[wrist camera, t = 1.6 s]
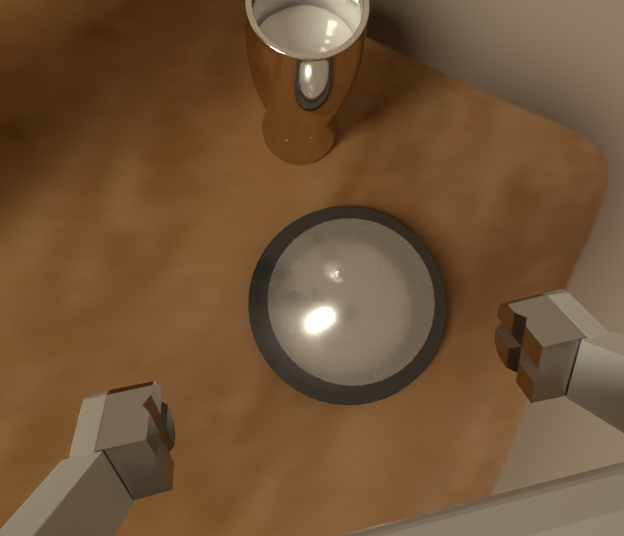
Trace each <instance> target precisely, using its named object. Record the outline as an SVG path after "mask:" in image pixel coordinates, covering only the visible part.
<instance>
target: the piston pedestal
mask: <svg viewBox="0 0 624 536" xmlns="http://www.w3.org/2000/svg"><path fill="white" fill-rule="evenodd" d="M249 317H250V324H251V328H252V332H253V335H254V338H255V341H256V343H257V345H258V348H259V350H260V352H261V353H262V355H263V357H264V358H265V360H266V362H267V363H268V364H269V365H270V367H271V368H272V369H273V370H274V372H275V373H276V374H277V375H278V376H279V377H280V378H281V379H282V380H284V381H285V382H286V383H287V384H289V385H290V386H291V387H293V388H294V389H296V390H297V391H299V392H301V393H303V394H305V395H306V396H309V397H312V398H314V399H317V400H319V401H323V402H327V403H332V404H340V405H360V404H366V403H371V402H375V401H378V400H381V399H384V398H387V397H389V396H391V395H393V394H395V393H397V392H399V391H400V390H402V389H403V388H405V387H406V386H408V385H409V384H410V383H411V382H412V381H414V380H415V379H416V378H417V377H418V376H419V375H420V374H421V373H422V371H423V370H424V369H425V368H426V367H427V365H428V364H429V362H430V361H431V359H432V358H433V356H434V354H435V352H436V350H437V348H438V346H439V344H440V341H441V337H442V334H443V331H444V325H445V320H446V296H445V290H444V285H443V280H442V278H441V275H440V272H439V269H438V267H437V265H436V263H435V261H434V259H433V257H432V255H431V254H430V252H429V251H428V249H427V248H426V246H425V245H424V244H423V243H422V242H421V241H420V239H419V238H418V237H417V236H416V235H415V234H413V233H412V232H411V231H410V230H409V229H408V228H406V227H405V226H404V225H402V224H401V223H399V222H398V221H396V220H394V219H392V218H390V217H389V216H386V215H384V214H381V213H379V212H376V211H372V210H368V209H364V208H357V207H334V208H327V209H323V210H319V211H316V212H313V213H310V214H308V215H305V216H303V217H301V218H299V219H298V220H296V221H294V222H292V223H291V224H290V225H288V226H287V227H286V228H284V229H283V230H282V231H281V232H280V233H279V234H278V235H277V236H276V237H275V238H274V239H273V240H272V241H271V242H270V244H269V245H268V246H267V248H266V249H265V250H264V252H263V254H262V255H261V257H260V259H259V261H258V263H257V266H256V268H255V270H254V273H253V277H252V280H251V284H250V291H249Z"/></svg>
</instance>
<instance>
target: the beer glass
mask: <svg viewBox="0 0 624 536" xmlns="http://www.w3.org/2000/svg"><path fill="white" fill-rule="evenodd" d="M245 8H246V45H247V56H248V62H249V67H250V72H251V76H252V79H253V82H254V85H255V88H256V90H257V93H258V95H259V97H260V99H261V101H262V104H263V106H264V108H265V110H266V112H265V115H264V119H263V126H262V130H263V136H264V140H265V142H266V144H267V146H268V147H269V149H270V150H271V151H272V152H273V153H274V154H275V155H276V156H277V157H278V158H280V159H282V160H284V161H286V162H289V163H293V164H308V163H312V162H315V161H317V160H319V159H321V158H322V157H323V156H325V155H326V154H327V153H328V152H329V151H330V149H331V148H332V146H333V144H334V142H335V139H336V135H337V121H336V115H337V113H338V111H339V110H340V108H341V107H342V105H343V103H344V102H345V100H346V99H347V97H348V95H349V93H350V91H351V89H352V87H353V85H354V83H355V80H356V77H357V74H358V71H359V68H360V64H361V60H362V55H363V50H364V43H365V36H366V27H367V20H368V17H369V0H245Z"/></svg>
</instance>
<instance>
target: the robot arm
mask: <svg viewBox="0 0 624 536" xmlns="http://www.w3.org/2000/svg"><path fill="white" fill-rule="evenodd" d="M498 318H499V319H500V320H501V322H502V323H501V324H500V325H499V327H498V328H497V329H496V332H495V344H496V349H497V352H498V355H499V357H500V359H501V361H502V362H503V364H504V365H505V367H506V368H508V369H510V370H512V371H514V372H516V373H517V378H516V382H517V384H518V385H519V387H520V388H521V389H522V391H523V392H524V394H525V395H526V396H527V398H528V399H529V401H530V402H531V403H534V402H538V401H543V400H548V399H552V398H557V397H562V396H566V395H567V396H566V397H567V398H568V399H569V400H571V401H573V402H574V403H576V404H578V405H579V406H581V407H582V408H584V409H586V410H587V411H589V412H591V413H592V414H594V415H596V416H597V417H599V418H600V419H602V420H604V421H605V422H607V423H609V424H610V425H612V426H613V427H615V428H617V429H618V430H620V431H622V432H623V433H624V334H622V333H619V332H617V331H615V332H609V331H608V330H607V329H606V328H604V326H603V325H602V324H601V323H599V322H598V321H597V320H596V319H595V318H594V317H593V316H592V315H591V314H590V313H589V312H588V311H587V310H586V309H585V308H584V307H583V306H582V305H581V304H580V303H579V302H578V301H577V300H576V299H575V298H574V297H573V296H572V295H571V294H570V293H569V292H567V291H565V290H563V289H560V290H556V291H551V292H547V293H543V294H541V295H535V296H530V297H526V298H522V299H518V300H513V301H509V302H505V303H501V305H500V307H499V309H498ZM161 400H162V391H161V389H160V387H159V385H158V383H157V382H155V381H153V382H147V383H142V384H137V385H132V386H127V387H122V388H117V389H112V390H110V391H105V392H100V393H95V394H89V395H87V396H86V397H85V399H84V400H83V402H82V406H81V410H80V414H79V418H78V422H77V426H76V430H75V434H74V438H73V443H72V447H71V451H70V455H69V459H65V460H61V462H60V463H59V464H58V465H57V466H56V467H55V468H54V469H53V471H52V472H51V473H50V474H49V475H48V476H47V477H46V478H45V480H44V481H43V482H42V483H41V484H40V485H39V486H38V487H37V489H36V490H35V491H34V492H33V493H32V494H31V495H30V496H29V498H28V499H27V500H26V501H25V502H24V503H23V504H22V505H21V507H20V508H19V509H18V510H17V511H16V512H15V513H14V514H13V516H12V517H11V518H10V519H9V520H8V521H7V522H6V523H5V525H4V526H3V527H2V528H1V529H0V536H115V534H116V533H117V531H118V529H119V528H120V526H121V524H122V522H123V521H124V519H125V517H126V516H127V514H128V512H129V511H130V509H131V507H132V505H133V504H134V502H133V500H137V499H141V498H144V497H148V496H152V495H156V494H159V493H163V492H167V491H170V490H173V470H174V462H173V460H172V458H171V456H170V454H169V453H170V451H171V450H172V448H173V447H174V446H175V430H174V421H173V418H172V414H171V411H170V409H169V406H168V405H167V404H165V403H163V402H161ZM338 536H624V462H622V463H618V464H614V465H610V466H606V467H602V468H598V469H594V470H590V471H587V472H583V473H579V474H575V475H571V476H567V477H564V478H559V479H555V480H552V481H548V482H544V483H541V484H536V485H533V486H529V487H525V488H521V489H517V490H513V491H509V492H505V493H501V494H497V495H493V496H489V497H486V498H482V499H478V500H474V501H470V502H466V503H462V504H458V505H455V506H451V507H447V508H443V509H439V510H435V511H431V512H427V513H424V514H420V515H416V516H412V517H408V518H404V519H400V520H396V521H392V522H389V523H385V524H381V525H377V526H373V527H369V528H365V529H361V530H357V531H354V532H350V533H346V534H342V535H338Z"/></svg>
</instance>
